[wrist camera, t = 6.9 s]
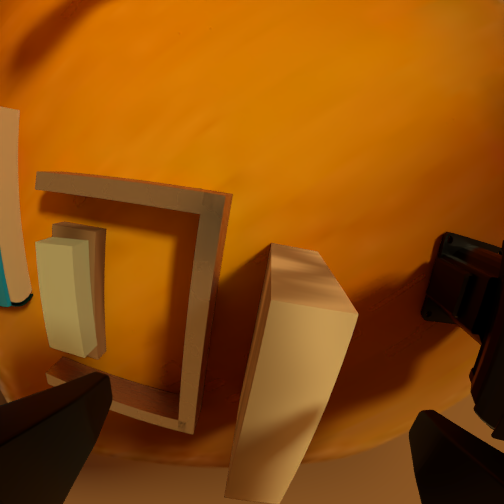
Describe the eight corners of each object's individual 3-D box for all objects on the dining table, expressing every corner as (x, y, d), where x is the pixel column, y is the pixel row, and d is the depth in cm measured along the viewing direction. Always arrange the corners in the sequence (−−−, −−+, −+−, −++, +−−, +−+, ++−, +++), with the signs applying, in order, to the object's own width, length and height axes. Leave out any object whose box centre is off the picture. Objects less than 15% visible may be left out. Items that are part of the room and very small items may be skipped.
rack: (232, 194, 19) (225, 195, 16) (200, 410, 23) (193, 434, 20) (61, 171, 19) (36, 171, 16) (64, 367, 23) (47, 383, 20)
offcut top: (88, 240, 19) (72, 246, 17) (97, 345, 21) (84, 357, 19) (52, 236, 19) (35, 242, 17) (63, 336, 21) (49, 347, 19)
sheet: (317, 251, 20) (358, 314, 10) (278, 399, 22) (279, 503, 12) (271, 242, 20) (271, 299, 10) (240, 393, 22) (224, 497, 12)
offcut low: (109, 227, 21) (95, 232, 19) (108, 348, 23) (98, 359, 21) (67, 220, 21) (52, 224, 19) (70, 335, 23) (58, 345, 21)
